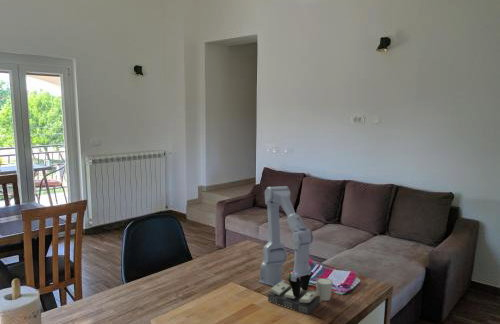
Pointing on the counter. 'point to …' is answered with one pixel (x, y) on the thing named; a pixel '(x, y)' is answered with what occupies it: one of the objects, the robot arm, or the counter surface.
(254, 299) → the counter surface
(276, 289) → the pale rectangular block
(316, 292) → the cabinet drawer
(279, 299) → the filing cabinet
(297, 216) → the robot arm
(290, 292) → the filing cabinet drawer
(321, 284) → the shot glass
